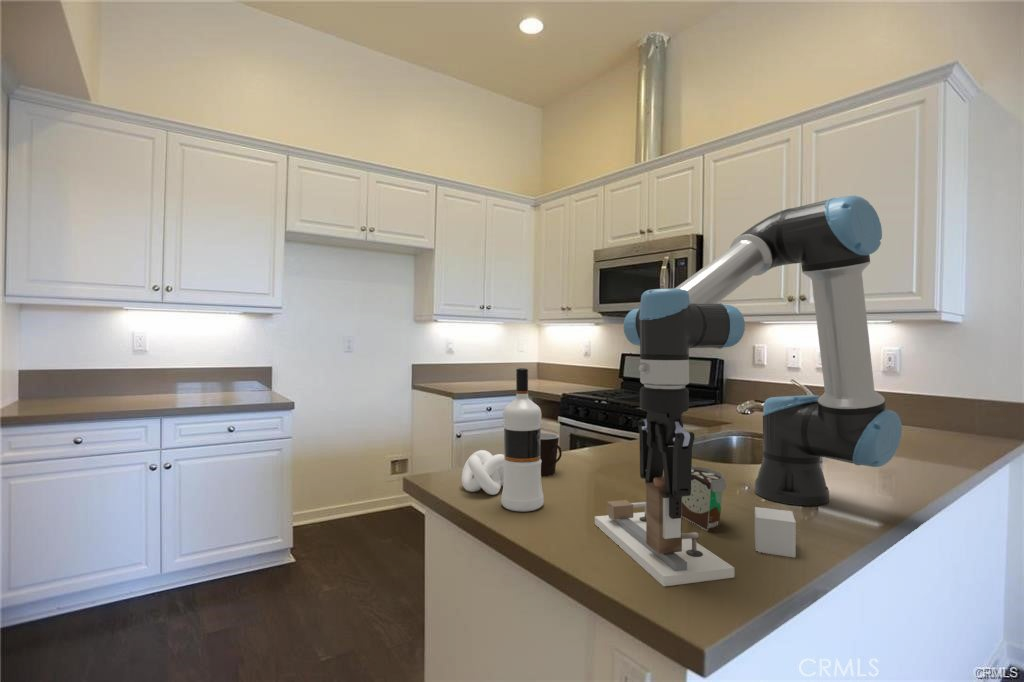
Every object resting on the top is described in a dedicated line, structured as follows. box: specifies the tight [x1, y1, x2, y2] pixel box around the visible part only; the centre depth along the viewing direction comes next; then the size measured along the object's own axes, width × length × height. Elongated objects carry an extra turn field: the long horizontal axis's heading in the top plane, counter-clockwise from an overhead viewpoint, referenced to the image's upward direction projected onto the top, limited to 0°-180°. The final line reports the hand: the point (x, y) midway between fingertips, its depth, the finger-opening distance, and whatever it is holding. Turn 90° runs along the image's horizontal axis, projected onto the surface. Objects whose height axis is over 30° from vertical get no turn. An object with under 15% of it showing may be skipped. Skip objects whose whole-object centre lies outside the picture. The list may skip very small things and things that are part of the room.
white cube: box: [754, 506, 797, 558], centre depth 90 cm, size 6×6×6 cm
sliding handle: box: [645, 476, 699, 554], centre depth 83 cm, size 8×4×12 cm, turn 104°
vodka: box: [500, 367, 545, 513], centre depth 112 cm, size 9×9×30 cm
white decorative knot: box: [461, 449, 504, 496], centre depth 124 cm, size 11×12×9 cm
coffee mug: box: [541, 432, 563, 477], centre depth 138 cm, size 12×9×10 cm
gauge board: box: [594, 499, 735, 587], centre depth 90 cm, size 12×26×5 cm, turn 14°
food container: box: [682, 465, 727, 533], centre depth 103 cm, size 12×6×10 cm, turn 16°
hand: (663, 531), depth 83 cm, fingers closed on sliding handle, 4 cm apart
